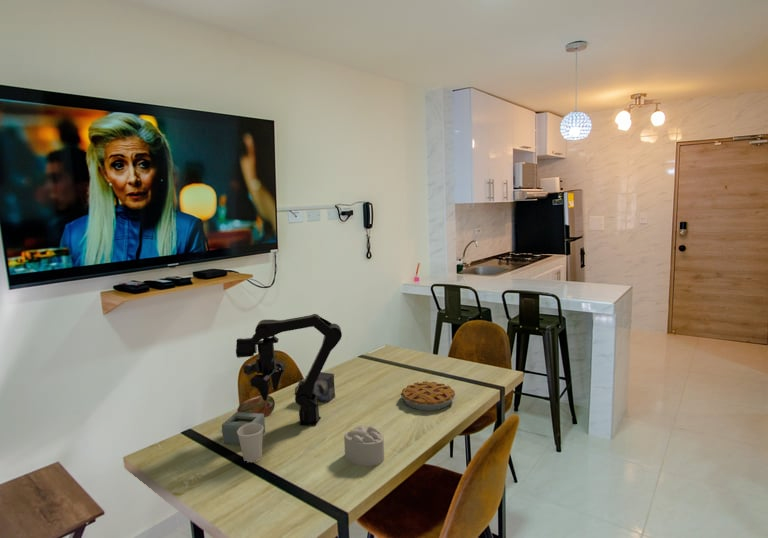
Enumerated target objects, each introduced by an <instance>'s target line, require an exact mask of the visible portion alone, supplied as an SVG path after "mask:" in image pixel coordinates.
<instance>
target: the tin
mask: <svg viewBox="0 0 768 538" xmlns="http://www.w3.org/2000/svg"><path fill="white" fill-rule="evenodd" d="M275 403H276V402H275V399H274V397H272V396H271V395H269V394H268V397H267V400H266V401H264V400H263V398H262V396H261V394H259V395H258V396H254V397H252V398H249V399H246V400H243V401H242V402H241V403H240V404H239V406H238V407H237V411H236V412H241V413H259V414H264V418H266V417H268V416H269V415H271V414H272V413H273V412H274V409H275V406H276V404H275Z"/></svg>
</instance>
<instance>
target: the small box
mask: <svg viewBox="0 0 768 538" xmlns="http://www.w3.org/2000/svg"><path fill="white" fill-rule="evenodd" d="M306 377H307V375H305V378H306ZM335 391H336V389H335V373H330V372H322V371H321V372H320V374H319V376H318V378H317V380H316V382H315V385H314V389H313V393H314V394H315V395H316V396H317V402H322V403H330V402H331V401H333V399H335V398H336V392H335Z"/></svg>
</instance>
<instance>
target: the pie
mask: <svg viewBox="0 0 768 538" xmlns="http://www.w3.org/2000/svg"><path fill="white" fill-rule="evenodd" d="M400 396H401V398H402V399H403V401H404V402H405V404H406V405H408V407H410V408H413V409H416V410H420V411H424V412H425V411H426V412H431V411H437V410H442V409H444V408H446V407H448V406H449V405H451V403H452V401H453V400H454V399H455V397H456V392H455V389H452V387H451V386H450V385H446V384H445V383H438V382H436V381H432V382H429V381H427V380H426V381H422V382H418V381H417V382H414V383H413V384H408V385H407V386H406V387H403V388H402V391H401V393H400Z"/></svg>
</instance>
